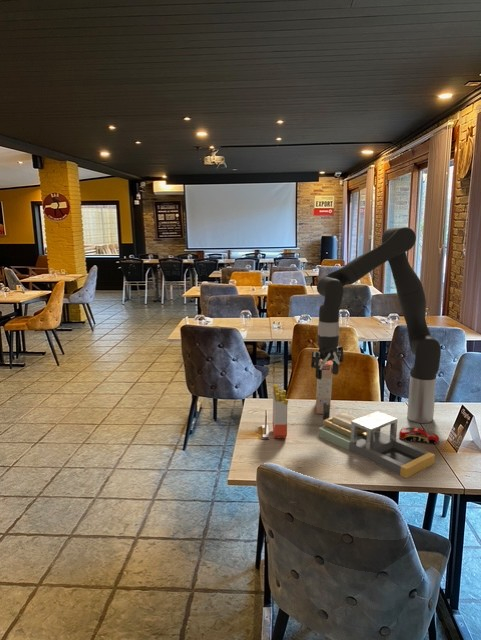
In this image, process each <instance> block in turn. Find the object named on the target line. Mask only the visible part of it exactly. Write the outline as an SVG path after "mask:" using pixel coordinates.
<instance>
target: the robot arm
mask: <svg viewBox="0 0 481 640" xmlns="http://www.w3.org/2000/svg"><path fill="white" fill-rule="evenodd" d="M416 241H417V237H416V233H415V231H414V230H413V229H412V228H410V227H408V226H396V227H394V226H393V227H390V228H387V229H386V230H385V231H383V234H382V237H381V244H379V245H378V246H377V247H375V248H373V249H371V250H370V251H367V252H365V253H363V254H361V255H358V256H357V257H355V258H354V259H352V260H351V261H349V262H348V263H346V264H345V265H344V266H342V267H341V268H339V269H336V270H334V271H332V272H330V273H328V274H326V275H324V276H323V277H322V278H320V279H319V280H318V282H317V284H316V291H317V293H318V294H319V295H320V296H321V297H324V301H323V304H321V305H320V306H319V310H318V325H317V346H318V351H316V350H313V351H311V361H310V362H311V363H310V367H311V368H312V369H314V370H315V378H316V380H317V379H322V367H323V365H324V364H326V362H328V361H332V362H333V364H332V375H335V376H337V375H338V374H339V369H340V368H339V365H340V363H343V362H344V346H340V345H339V342H340V309H341V305H342V301H343V298H344V287H345V286H350V285H353V284H355V283H356V282H359V280H361V279H362V278H364V277H365V276H366V275H368V274H369V273H371V272H372V271H374V270H375V269H376V268H378V267H380V266H381V265H383V264H385V263H387V262H388V264H389V267H390V271H391V274H392V278H393V282H394V285H395V290H396V293H397V297H398V301H399V306H400V309H401V311H402V314H403V318H404V321H405V324H406V328H407V329H406V330H407V334H408V335H407V336H408V341H409V349H410V351H411V352H412V353H413V355H414V365H413V366H412V367H411V368H410V373H409V375H410V376H409V388H408V399H407V400H408V402H407V412H406V414H407V416H406V417H407V419H408V420H409V421H410V422H413V423H419V424H429V423H432V422H433V419H434V414H435V403H436V402H435V401H436V395H435V391H436V381H437V374H438V372H439V370H440V362H441V354H442V350H441V349H442V348H441V344H440V342H439V341H438V340H437V339H435V338H434V337H433V336H431V332H430V330H429V327H428V324H427V321H426V320H427V319H426V312H427V310H426V307H427V301H426V295H425V291H424V287H423V283H422V281H421V280H420V277H419V276H418V275H417V273H416V271H415V270H414V269H413V268H412V265H411V264H410V261H409V259H408V256H407V252H408V251H410V250H411V249H412V248H413V247H414V246H415V244H416ZM321 359H322V360H323V361H321ZM320 363H321V364H320ZM319 364H320V366H319Z"/></svg>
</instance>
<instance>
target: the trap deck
mask: <svg viewBox="0 0 481 640" xmlns="http://www.w3.org/2000/svg"><path fill="white" fill-rule="evenodd" d="M318 436H319V437H320V438H322V439H324V440H326V441H328V442H330V443H332V444H334V445H336V446H338V447H341V448H343V449H345V450H347V451H349V452H351V453H353V454H356V455H357V456H359V457H360V458H364V459H365V458H366V460H367V459H368V461H369V460H370V461H369V462H371V461H372V463H373V462H374V464H376V465H378V466H380V467H382V468H384V469H386V470H388V471H390V472H393V473H394V474H396V475H398V476H401V477H402V476H403V477H402V478H404V477H405V478H404V479H407V478H409V477H411V476H413V475H415V474H417V473H420V471H422V470H425V469H426V468H428V467H431V466H432V465H434V464H435V457H436V455H435V454H434V453H431V452H430V451H427V450H425V449H422V448H420V447H417V446H415V445H412V444H410V443H409V442H407V441H406V442H405V441H404V440H402V439H399V438H396V440H391V439H390V434H386V433H384V432H382V431H380V433H378V434H377V433H375V432H374V438H373V450H371V451H369V450H367V449H366V440H367V438H365V437H363V436H361V435H360V436H358V437H357V442H356V443H352V442H350V437H348V436H346V435H343V434H341V433H339V432H337V431H335V430H332V429H330V428H328V427H326V426H324V425H323V426H321V427H318Z"/></svg>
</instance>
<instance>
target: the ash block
mask: <svg viewBox="0 0 481 640" xmlns="http://www.w3.org/2000/svg"><path fill="white" fill-rule="evenodd" d="M332 417H333V420H332V423H335V424H337V425H339V426H341V427H344V428H346V429H348V430H350V431H351V421H353V420H355V419H358V417H355V416H353V415H352V414H349V413H346V412H342V413H340V414H339V413H338V414H336V415H333V416H332ZM358 429H360V427H358Z"/></svg>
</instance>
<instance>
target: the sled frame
mask: <svg viewBox="0 0 481 640" xmlns="http://www.w3.org/2000/svg"><path fill="white" fill-rule="evenodd" d="M330 412H331V404H330V403H323V414H322V421H323V422H322V423H323V424H322V425H323V426H326V427H328V428H330V429H332V430H335V431H337V432H339V433H341V434H343V435H346V436H348V437H350V438H351V431H350V430H348V429H346V428H344V427H341V426H339V425H337V424H335V423H332V420H333V416H332V417H331V416H330V415H331V413H330ZM360 435H361V436H363V437H365V438H367V430H365V429H362V428H360V429H357V437H358V436H360ZM373 438H374V436H373Z"/></svg>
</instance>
